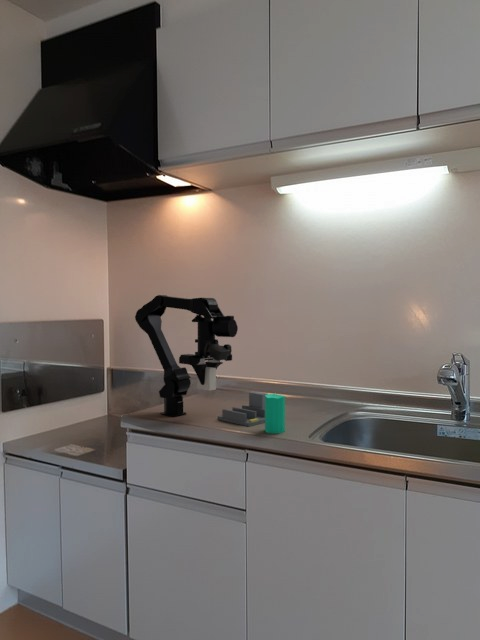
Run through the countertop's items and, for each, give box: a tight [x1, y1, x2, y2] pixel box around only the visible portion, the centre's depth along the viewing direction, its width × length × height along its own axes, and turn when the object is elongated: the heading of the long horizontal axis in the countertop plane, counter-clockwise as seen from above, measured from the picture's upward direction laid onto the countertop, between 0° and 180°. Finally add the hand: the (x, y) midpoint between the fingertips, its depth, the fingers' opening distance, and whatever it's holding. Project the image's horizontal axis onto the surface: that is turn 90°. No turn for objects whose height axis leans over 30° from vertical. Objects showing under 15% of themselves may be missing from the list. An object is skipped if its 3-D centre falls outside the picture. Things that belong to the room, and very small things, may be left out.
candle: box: [264, 393, 286, 434], centre depth 147 cm, size 6×6×12 cm
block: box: [196, 367, 217, 392], centre depth 162 cm, size 6×3×7 cm, turn 46°
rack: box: [217, 391, 269, 427], centre depth 162 cm, size 14×15×8 cm
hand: (206, 384), depth 162 cm, fingers closed on block, 3 cm apart
